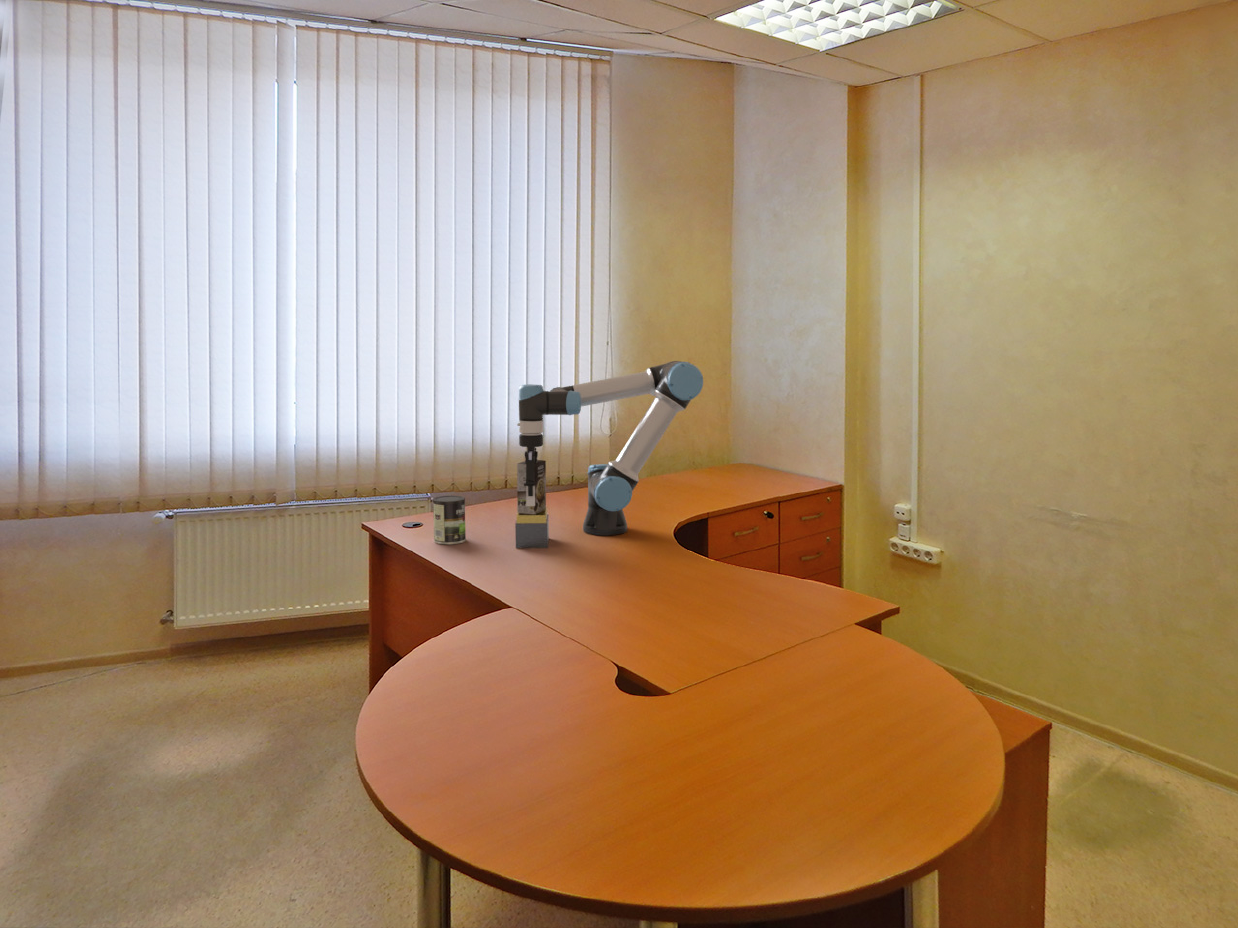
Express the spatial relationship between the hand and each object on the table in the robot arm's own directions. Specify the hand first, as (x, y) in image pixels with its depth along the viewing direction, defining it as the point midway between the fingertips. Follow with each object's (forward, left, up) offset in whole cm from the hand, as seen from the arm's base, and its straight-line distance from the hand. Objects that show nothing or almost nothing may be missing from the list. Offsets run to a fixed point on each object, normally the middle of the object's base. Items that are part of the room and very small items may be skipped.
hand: (531, 502), depth 270 cm
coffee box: (0, 0, -3) cm, 3 cm away
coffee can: (+27, -4, -14) cm, 30 cm away
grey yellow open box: (0, 0, -13) cm, 13 cm away
